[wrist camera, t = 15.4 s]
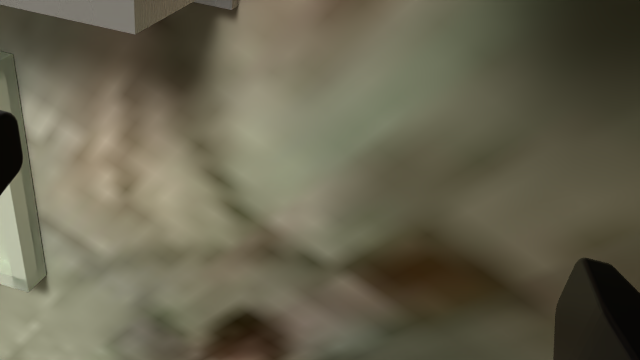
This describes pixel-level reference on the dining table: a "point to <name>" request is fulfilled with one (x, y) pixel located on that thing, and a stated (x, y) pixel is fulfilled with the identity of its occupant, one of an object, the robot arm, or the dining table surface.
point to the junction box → (113, 11)
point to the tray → (18, 203)
